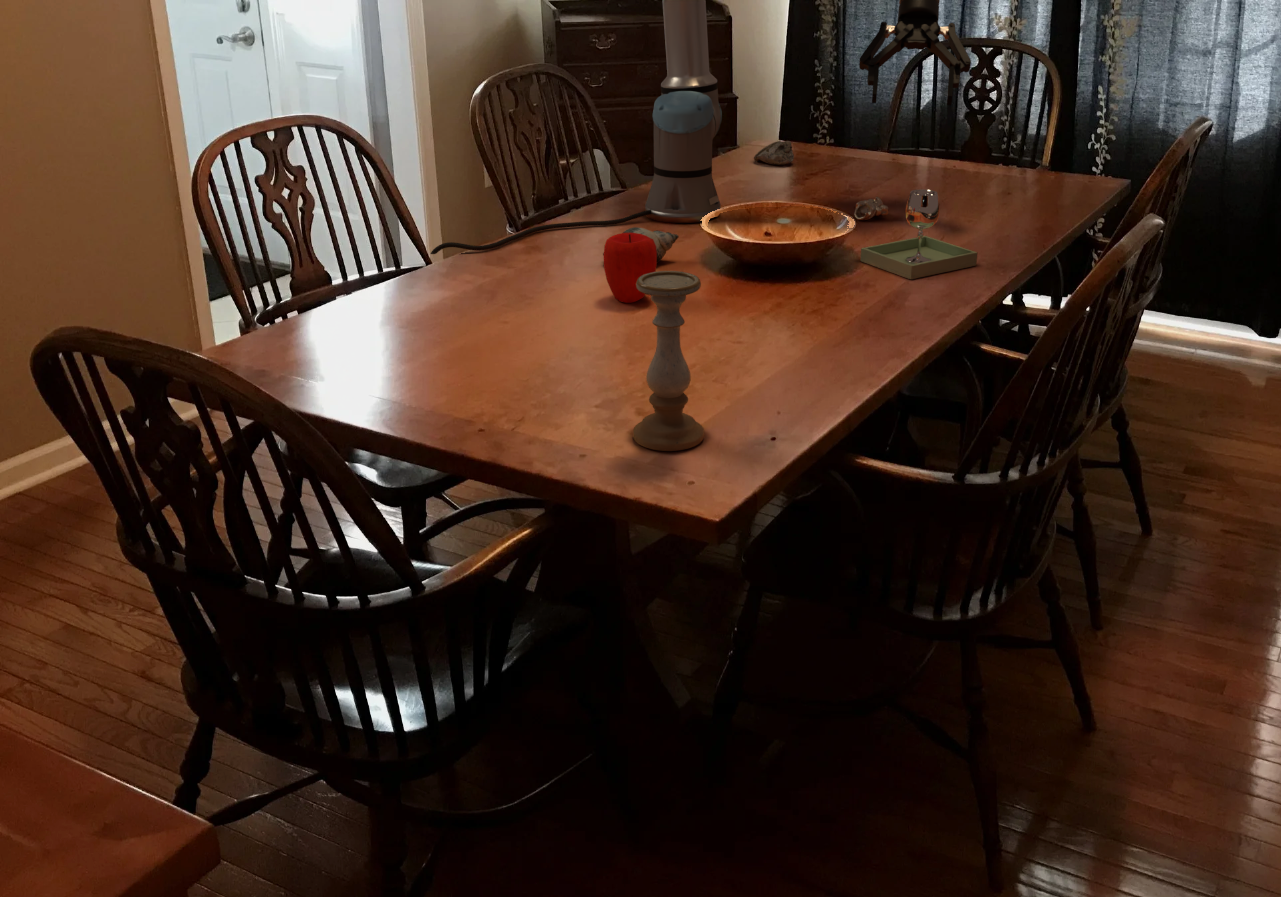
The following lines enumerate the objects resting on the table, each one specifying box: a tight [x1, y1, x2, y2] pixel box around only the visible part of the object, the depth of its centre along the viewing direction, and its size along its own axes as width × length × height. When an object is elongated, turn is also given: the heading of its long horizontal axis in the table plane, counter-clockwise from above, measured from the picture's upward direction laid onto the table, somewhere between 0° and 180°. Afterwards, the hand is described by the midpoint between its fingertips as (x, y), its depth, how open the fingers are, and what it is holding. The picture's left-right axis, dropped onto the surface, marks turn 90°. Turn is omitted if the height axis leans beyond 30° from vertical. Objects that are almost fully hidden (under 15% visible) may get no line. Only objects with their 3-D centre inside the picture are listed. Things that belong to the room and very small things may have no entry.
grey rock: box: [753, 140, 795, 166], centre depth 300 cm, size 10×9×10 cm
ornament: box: [853, 196, 889, 221], centre depth 252 cm, size 8×7×4 cm
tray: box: [859, 235, 978, 280], centre depth 223 cm, size 15×13×2 cm
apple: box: [603, 232, 658, 304], centre depth 205 cm, size 9×9×11 cm
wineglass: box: [904, 188, 940, 263], centre depth 221 cm, size 6×6×12 cm
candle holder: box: [632, 270, 705, 452], centre depth 153 cm, size 9×9×20 cm
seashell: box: [602, 226, 679, 263], centre depth 225 cm, size 6×8×12 cm
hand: (911, 99), depth 233 cm, fingers open, 13 cm apart
